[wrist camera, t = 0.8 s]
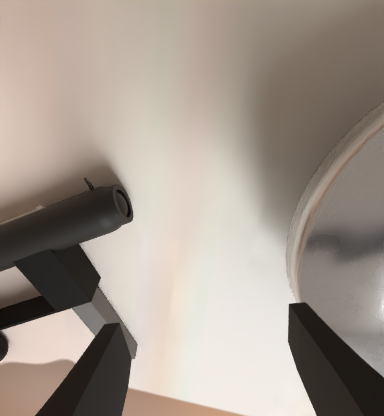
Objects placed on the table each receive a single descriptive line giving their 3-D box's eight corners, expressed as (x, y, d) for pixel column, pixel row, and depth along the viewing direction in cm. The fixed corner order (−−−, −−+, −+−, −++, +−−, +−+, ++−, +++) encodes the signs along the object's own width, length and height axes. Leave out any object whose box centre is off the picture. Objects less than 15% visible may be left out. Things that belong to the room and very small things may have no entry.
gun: (199, 349, 21) (96, 175, 14) (-6, 404, 24) (-177, 281, 17) (197, 315, 24) (111, 157, 17) (14, 368, 27) (-125, 250, 20)
